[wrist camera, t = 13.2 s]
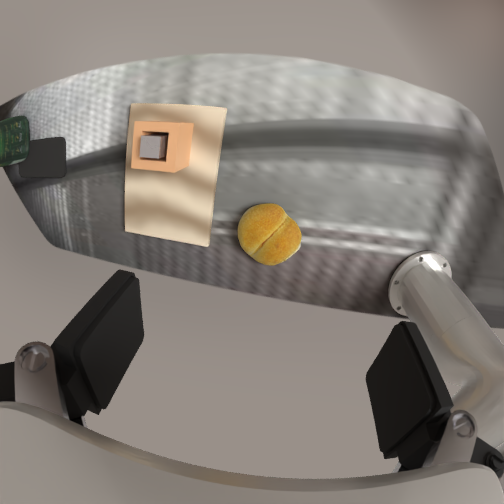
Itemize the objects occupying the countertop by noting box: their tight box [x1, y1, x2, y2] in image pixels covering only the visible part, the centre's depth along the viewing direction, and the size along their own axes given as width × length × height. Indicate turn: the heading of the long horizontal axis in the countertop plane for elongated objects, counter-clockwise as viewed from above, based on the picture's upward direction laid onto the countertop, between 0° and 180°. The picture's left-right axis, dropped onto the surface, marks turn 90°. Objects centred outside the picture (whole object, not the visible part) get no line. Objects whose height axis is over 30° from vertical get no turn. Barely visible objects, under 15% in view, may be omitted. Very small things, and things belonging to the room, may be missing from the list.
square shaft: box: [139, 133, 169, 159], centre depth 32 cm, size 3×3×6 cm
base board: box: [125, 103, 227, 247], centre depth 37 cm, size 20×14×1 cm
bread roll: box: [238, 203, 301, 266], centre depth 39 cm, size 8×9×4 cm
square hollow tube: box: [131, 121, 194, 173], centre depth 32 cm, size 6×6×6 cm
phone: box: [19, 137, 66, 178], centre depth 38 cm, size 7×1×15 cm
